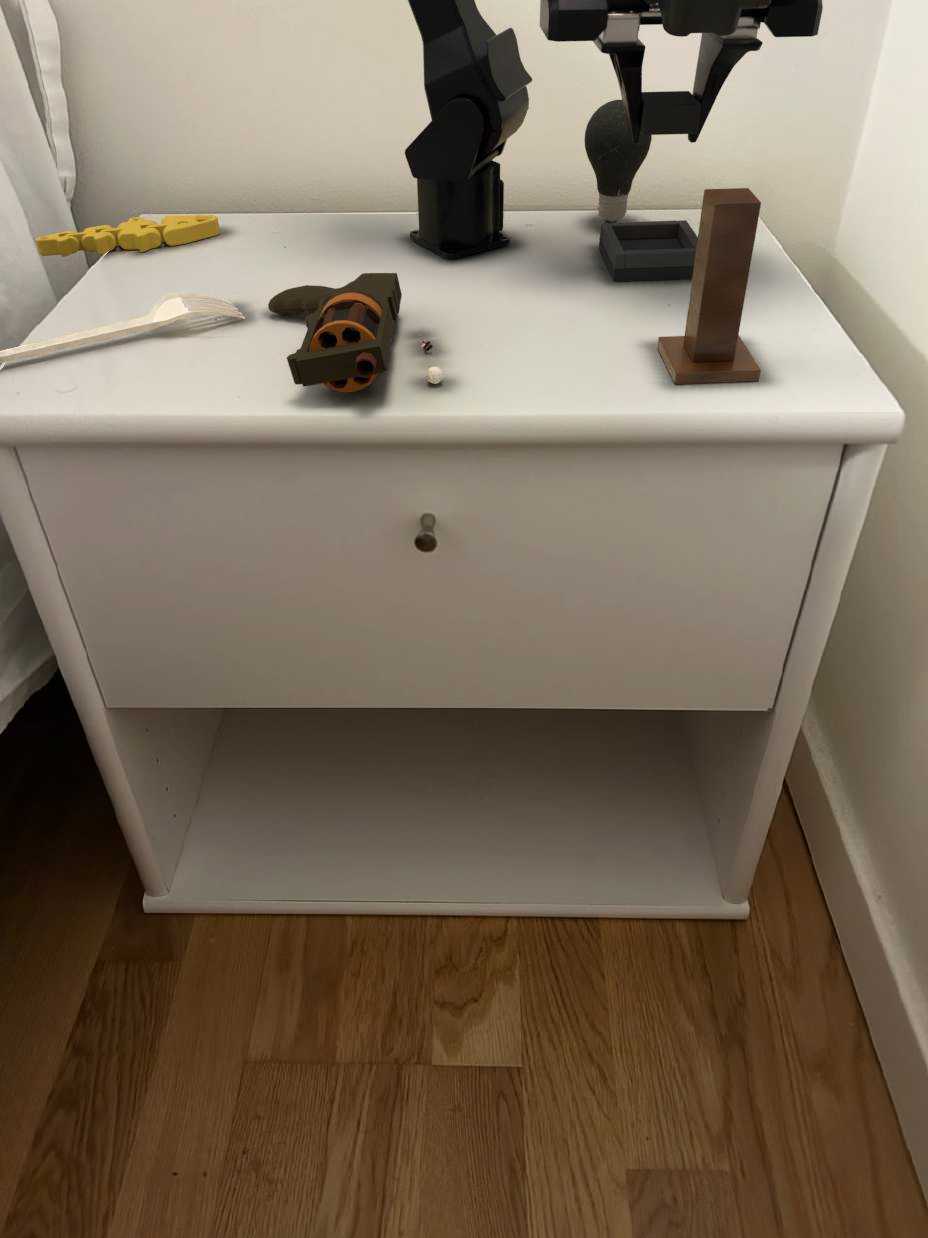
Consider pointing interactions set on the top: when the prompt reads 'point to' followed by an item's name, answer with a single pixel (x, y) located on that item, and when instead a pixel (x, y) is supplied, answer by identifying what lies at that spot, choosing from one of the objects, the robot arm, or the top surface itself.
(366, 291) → the toy gun
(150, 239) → the toy
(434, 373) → the figurine set
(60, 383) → the top surface
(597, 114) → the light bulb
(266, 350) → the top surface
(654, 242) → the base pad
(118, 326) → the fork
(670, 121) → the black block
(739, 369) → the stand
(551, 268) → the top surface
